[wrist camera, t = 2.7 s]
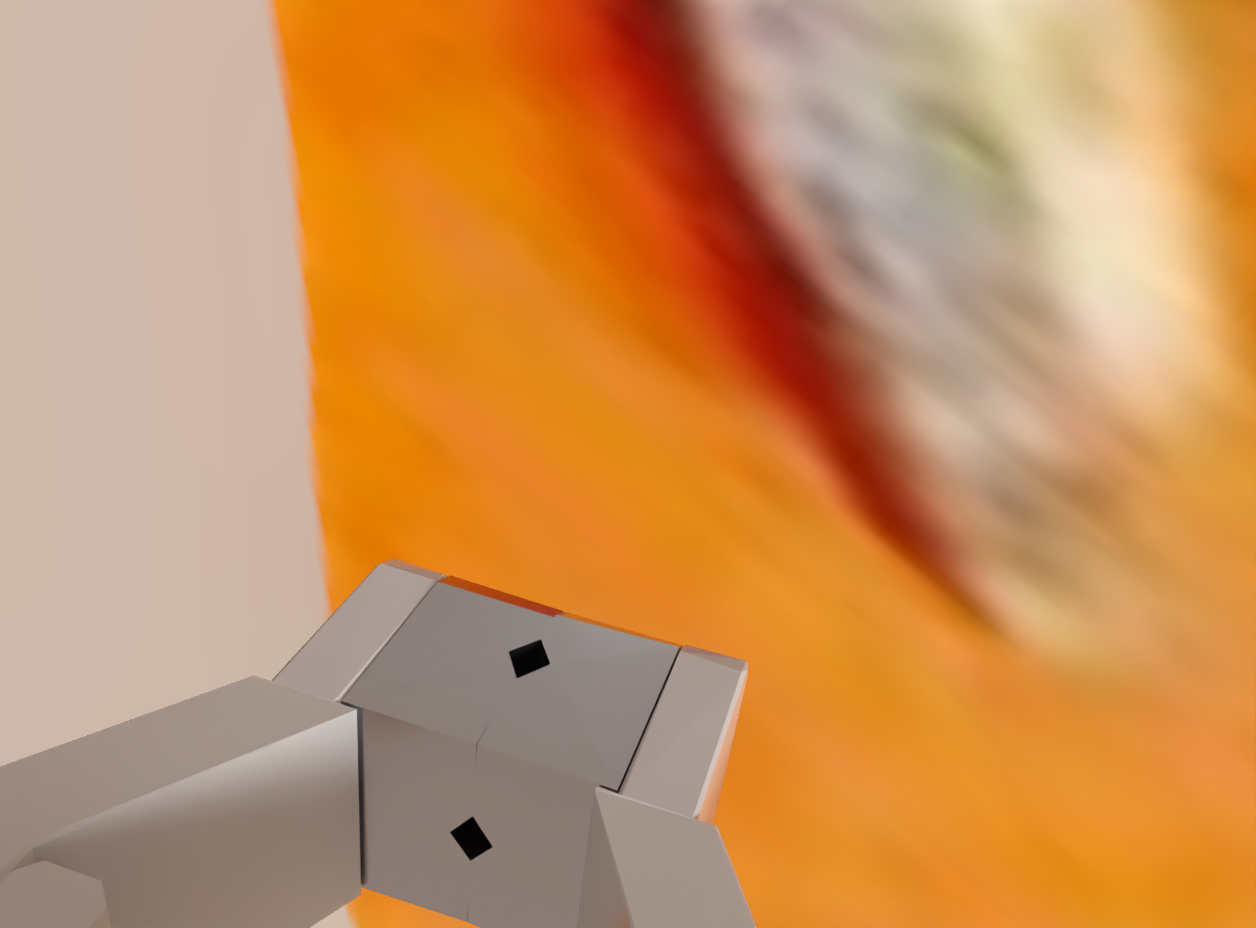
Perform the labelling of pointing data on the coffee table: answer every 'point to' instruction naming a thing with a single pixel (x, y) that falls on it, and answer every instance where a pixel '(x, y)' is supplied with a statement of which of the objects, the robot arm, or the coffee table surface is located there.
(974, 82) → the coffee table surface
